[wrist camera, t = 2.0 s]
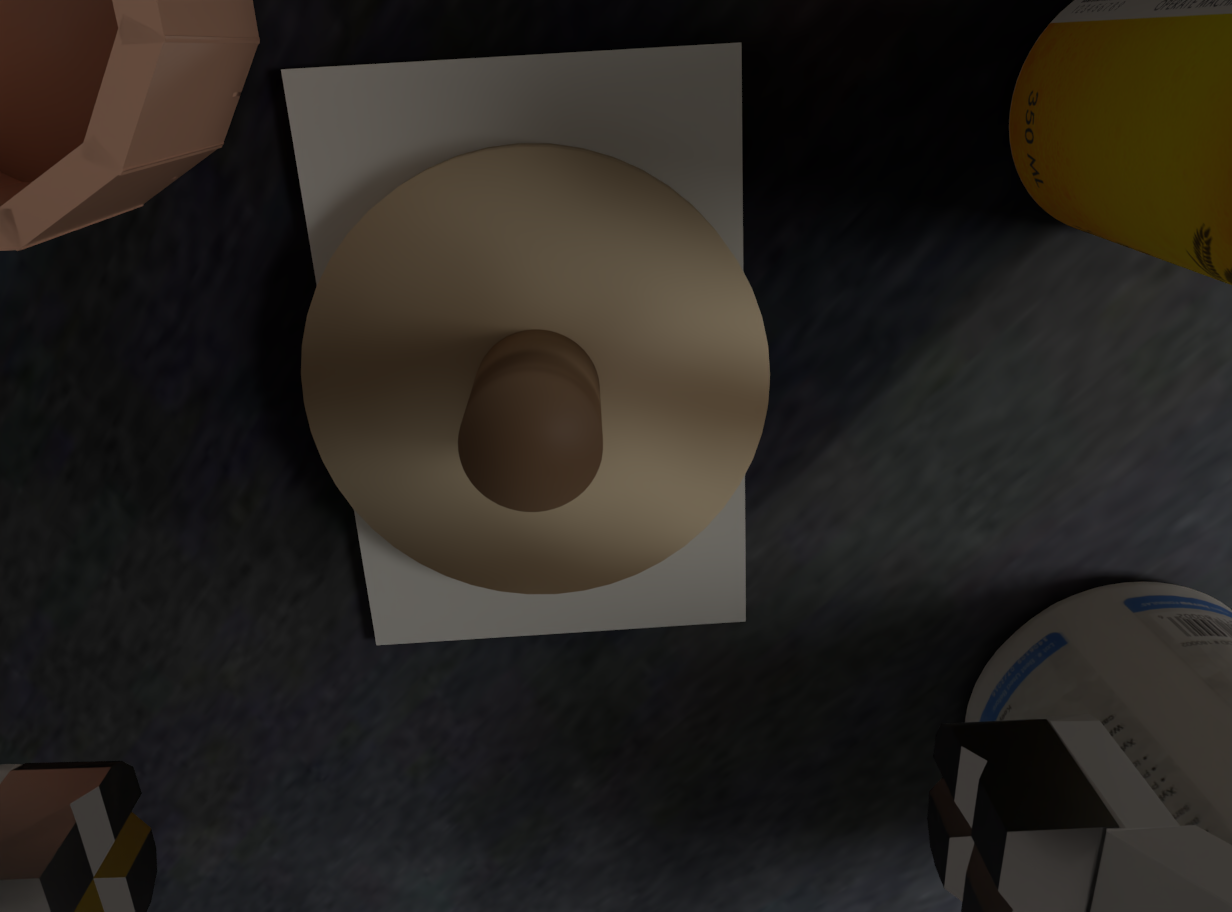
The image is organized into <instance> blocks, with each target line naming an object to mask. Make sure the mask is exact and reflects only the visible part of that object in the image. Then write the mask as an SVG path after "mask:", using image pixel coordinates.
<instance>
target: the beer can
mask: <svg viewBox="0 0 1232 912" xmlns="http://www.w3.org/2000/svg"><path fill="white" fill-rule="evenodd" d="M1009 139H1010V147H1011V152H1012V157H1013V161H1014V164H1015V167H1016V170H1017V172H1018V175H1019V177H1020V179H1021V181H1022V183H1023V185H1024V186H1025V188H1026V190H1027V191H1028V193H1029V194H1030V195H1031V197H1032V198H1033V199H1034V200H1035V202H1036V203H1037V204H1038V205H1039V206H1040V207H1041V208H1042V209H1043V210H1045V211H1046V212H1047V213H1048V214H1050V215H1051V216H1052V217H1054V218H1055V219H1057V220H1059V221H1061V222H1062V223H1064V224H1066V225H1068V226H1071V227H1074V228H1076V229H1079V230H1082V231H1085V232H1087V233H1090V234H1093V235H1096V236H1098V237H1101V238H1104V239H1107V240H1109V241H1112V242H1115V243H1118V244H1120V245H1123V246H1126V247H1129V248H1132V249H1134V250H1137V251H1140V252H1143V253H1145V254H1148V255H1151V256H1154V257H1156V258H1159V259H1162V260H1165V261H1167V262H1170V263H1173V264H1176V265H1178V266H1181V267H1184V268H1187V269H1189V270H1192V271H1195V272H1198V273H1200V274H1203V275H1206V276H1209V277H1211V278H1214V279H1217V280H1220V281H1222V282H1225V283H1228V284H1231V285H1232V0H1074V1H1073V2H1072V3H1070V4H1069V5H1068V6H1067V7H1066V8H1065V9H1063V10H1062V11H1061V12H1060V13H1059V14H1058V15H1057V16H1056V17H1055V18H1054V19H1053V20H1052V21H1051V22H1050V24H1049V25H1048V26H1047V27H1046V29H1045V30H1044V31H1043V32H1042V34H1041V35H1040V36H1039V38H1038V39H1037V41H1036V42H1035V44H1034V45H1033V47H1032V49H1031V50H1030V52H1029V54H1028V56H1027V58H1026V60H1025V62H1024V64H1023V66H1022V68H1021V71H1020V73H1019V76H1018V78H1017V81H1016V85H1015V88H1014V92H1013V96H1012V101H1011V107H1010V116H1009Z"/></svg>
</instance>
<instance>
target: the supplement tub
mask: <svg viewBox="0 0 1232 912" xmlns="http://www.w3.org/2000/svg"><path fill="white" fill-rule="evenodd" d="M1076 714H1090V715H1092V716H1094V717H1095V718H1097V719H1099V720H1100V722H1101V723H1102V724H1103V726H1104V727H1105V728H1106V730H1107V731H1108V732H1109V733H1110V735H1111V736H1112V737H1113V739H1114V740H1115V741H1116V743H1117V744H1118V745H1119V747H1120V748H1121V749H1122V750H1123V752H1124V753H1125V754H1126V756H1127V757H1128V758H1129V760H1130V761H1131V762H1132V764H1133V765H1134V766H1135V768H1136V769H1137V770H1138V771H1139V773H1140V774H1141V775H1142V777H1143V778H1144V779H1145V781H1146V782H1147V783H1148V785H1149V786H1150V787H1151V789H1152V790H1153V791H1154V792H1155V794H1156V795H1157V796H1158V798H1159V799H1160V800H1161V802H1162V803H1163V804H1164V806H1165V807H1166V808H1167V810H1168V811H1169V812H1170V813H1171V815H1172V816H1173V817H1174V819H1175V820H1176V821H1177V823H1178V824H1179V825H1180V826H1187V825H1196V826H1198V827H1200V828H1201V829H1203V830H1205V831H1207V832H1209V833H1211V834H1212V835H1214V836H1216V837H1218V838H1220V839H1221V840H1223V841H1225V842H1227V843H1229V844H1231V845H1232V610H1231V609H1230V608H1229V607H1227V606H1226V605H1224V604H1223V603H1221V602H1220V601H1218V600H1216V599H1215V598H1213V597H1211V596H1209V595H1207V594H1205V593H1202V592H1199V591H1197V590H1194V589H1191V588H1187V587H1183V586H1179V585H1174V584H1168V583H1161V582H1124V583H1117V584H1111V585H1105V586H1101V587H1096V588H1093V589H1090V590H1087V591H1083V592H1081V593H1078V594H1075V595H1073V596H1070V597H1068V598H1066V599H1063V600H1061V601H1059V602H1056V603H1055V604H1053V605H1051V606H1050V607H1048V608H1046V609H1045V610H1043V611H1042V612H1040V613H1039V614H1037V615H1036V616H1034V617H1033V618H1031V619H1030V620H1029V621H1028V622H1027V623H1025V624H1024V625H1023V626H1022V627H1020V628H1019V629H1018V630H1017V631H1016V632H1015V633H1014V634H1013V635H1012V636H1011V637H1010V638H1009V639H1007V640H1006V641H1005V642H1004V643H1003V644H1002V646H1001V647H1000V648H999V649H998V650H997V651H996V652H995V654H994V655H993V656H992V657H991V659H990V660H989V661H988V663H987V664H986V666H985V667H984V669H983V671H982V673H981V674H980V676H979V678H978V680H977V681H976V684H975V686H974V688H973V691H972V694H971V697H970V700H969V703H968V707H967V712H966V717H965V722H984V721H1004V720H1023V719H1038V718H1039V717H1048V716H1062V715H1076Z"/></svg>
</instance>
